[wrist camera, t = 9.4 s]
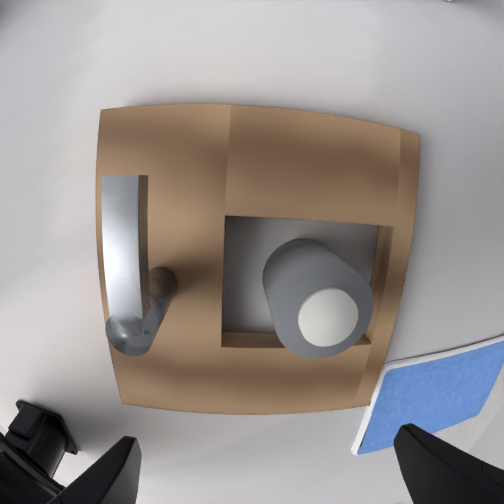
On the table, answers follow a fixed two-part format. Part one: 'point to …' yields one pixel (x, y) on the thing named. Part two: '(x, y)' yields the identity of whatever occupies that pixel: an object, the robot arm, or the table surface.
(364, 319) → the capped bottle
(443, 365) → the tablet computer
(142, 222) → the hook post
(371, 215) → the base board
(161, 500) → the table surface
